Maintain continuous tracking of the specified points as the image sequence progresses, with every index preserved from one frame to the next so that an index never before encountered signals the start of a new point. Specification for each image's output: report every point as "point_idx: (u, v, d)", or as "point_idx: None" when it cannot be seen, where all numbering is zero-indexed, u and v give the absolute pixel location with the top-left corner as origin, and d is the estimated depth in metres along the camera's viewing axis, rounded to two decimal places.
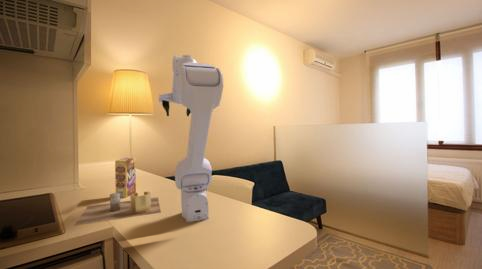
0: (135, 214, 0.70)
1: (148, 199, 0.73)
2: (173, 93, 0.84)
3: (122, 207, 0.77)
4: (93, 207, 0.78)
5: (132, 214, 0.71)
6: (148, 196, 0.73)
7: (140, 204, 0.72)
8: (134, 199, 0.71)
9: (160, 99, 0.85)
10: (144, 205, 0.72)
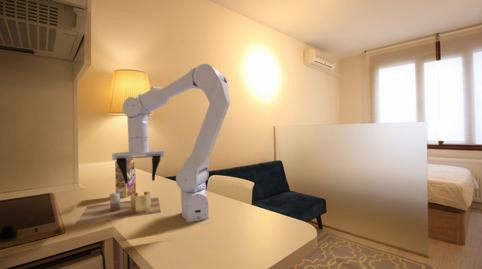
0: (135, 214, 0.70)
1: (148, 199, 0.73)
2: (129, 144, 0.72)
3: (122, 207, 0.77)
4: (93, 207, 0.78)
5: (132, 214, 0.71)
6: (148, 196, 0.73)
7: (140, 204, 0.72)
8: (134, 199, 0.71)
9: (114, 155, 0.70)
10: (144, 205, 0.72)
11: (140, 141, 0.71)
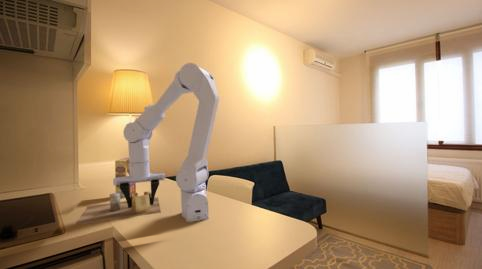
0: (135, 214, 0.70)
1: (148, 199, 0.73)
2: (130, 169, 0.72)
3: (122, 207, 0.77)
4: (93, 207, 0.78)
5: (132, 214, 0.71)
6: (148, 196, 0.73)
7: (140, 204, 0.72)
8: (134, 199, 0.71)
9: (115, 181, 0.71)
10: (144, 205, 0.72)
11: (141, 166, 0.71)
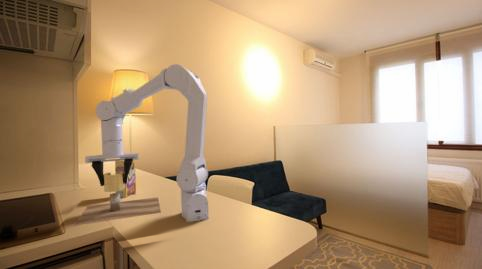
0: (135, 214, 0.70)
1: (121, 178, 0.74)
2: (102, 147, 0.72)
3: (122, 207, 0.77)
4: (93, 207, 0.78)
5: (132, 214, 0.71)
6: (121, 175, 0.74)
7: (113, 183, 0.72)
8: (106, 178, 0.72)
9: (86, 158, 0.71)
10: (117, 184, 0.72)
11: (113, 144, 0.72)
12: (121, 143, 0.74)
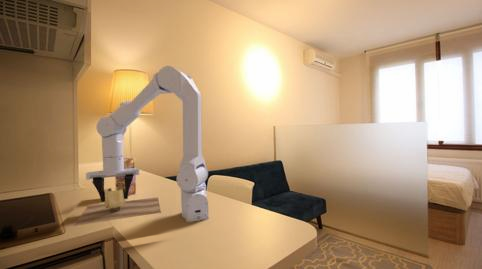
0: (135, 214, 0.70)
1: (122, 194, 0.74)
2: (103, 163, 0.72)
3: (122, 207, 0.77)
4: (93, 207, 0.78)
5: (132, 214, 0.71)
6: (122, 191, 0.74)
7: (113, 199, 0.72)
8: (107, 194, 0.72)
9: (87, 175, 0.71)
10: (118, 200, 0.73)
11: (114, 160, 0.72)
12: (122, 159, 0.74)
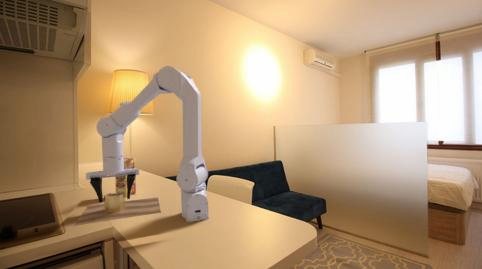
0: (135, 214, 0.70)
1: (122, 199, 0.74)
2: (103, 163, 0.72)
3: None
4: (93, 207, 0.78)
5: (132, 214, 0.71)
6: (122, 196, 0.74)
7: (114, 204, 0.72)
8: (107, 199, 0.72)
9: (87, 175, 0.71)
10: (118, 205, 0.73)
11: (114, 161, 0.72)
12: (122, 159, 0.74)
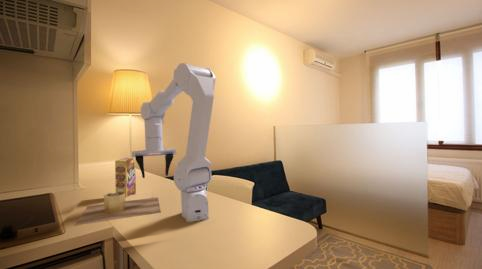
0: (135, 214, 0.70)
1: (122, 199, 0.74)
2: (146, 143, 0.81)
3: None
4: (93, 207, 0.78)
5: (132, 214, 0.71)
6: (122, 196, 0.74)
7: (114, 204, 0.72)
8: (107, 199, 0.72)
9: (133, 153, 0.80)
10: (118, 205, 0.73)
11: (156, 141, 0.81)
12: (162, 140, 0.83)
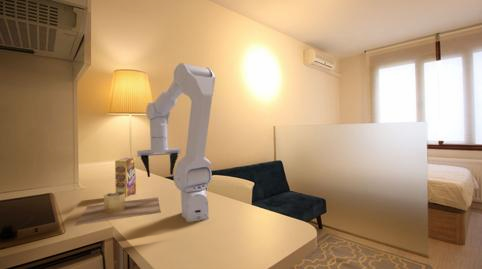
0: (135, 214, 0.70)
1: (122, 199, 0.74)
2: (151, 143, 0.83)
3: None
4: (93, 207, 0.78)
5: (132, 214, 0.71)
6: (122, 196, 0.74)
7: (114, 204, 0.72)
8: (107, 199, 0.72)
9: (138, 152, 0.81)
10: (118, 205, 0.73)
11: (161, 140, 0.82)
12: (166, 139, 0.85)
